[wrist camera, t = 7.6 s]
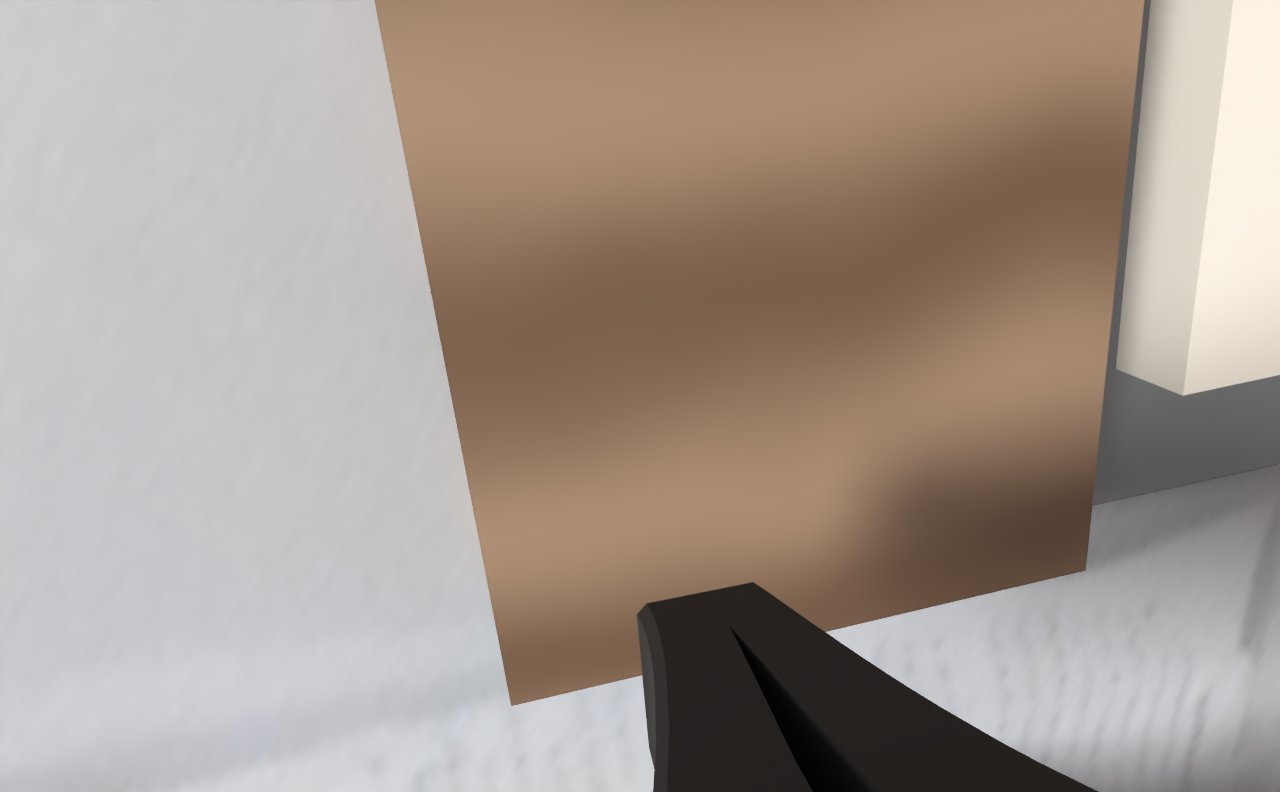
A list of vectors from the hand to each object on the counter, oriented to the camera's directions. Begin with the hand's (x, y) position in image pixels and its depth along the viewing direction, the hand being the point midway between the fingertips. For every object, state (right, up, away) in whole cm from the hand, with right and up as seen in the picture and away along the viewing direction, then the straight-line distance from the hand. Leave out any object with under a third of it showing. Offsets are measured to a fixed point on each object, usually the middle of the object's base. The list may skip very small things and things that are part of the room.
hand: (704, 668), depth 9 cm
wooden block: (+1, +6, +8) cm, 10 cm away
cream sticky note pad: (+14, +8, +8) cm, 18 cm away
